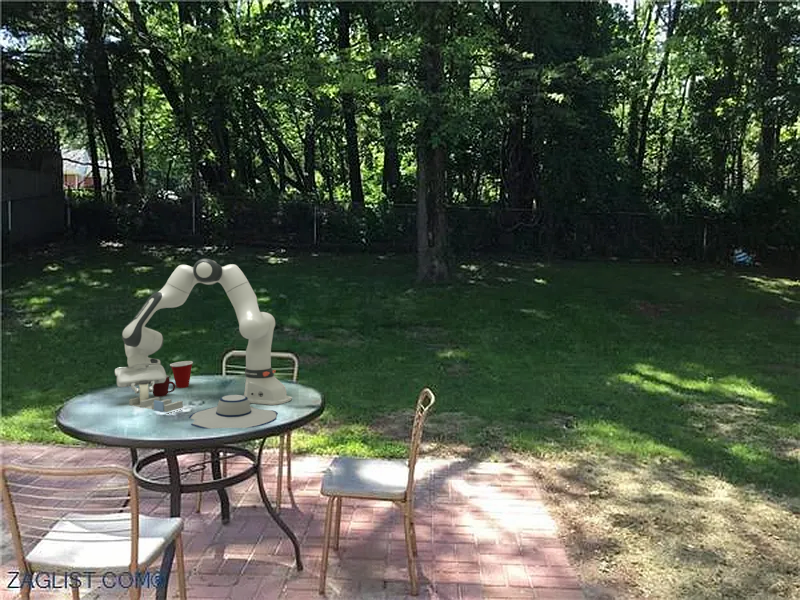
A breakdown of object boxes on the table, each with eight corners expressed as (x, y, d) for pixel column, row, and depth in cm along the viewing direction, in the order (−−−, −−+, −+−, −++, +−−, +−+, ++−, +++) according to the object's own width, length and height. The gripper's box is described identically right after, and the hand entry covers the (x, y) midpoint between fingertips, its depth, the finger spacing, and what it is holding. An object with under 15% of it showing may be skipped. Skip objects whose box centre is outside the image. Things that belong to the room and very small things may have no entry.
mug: (174, 395, 322) (173, 373, 321) (176, 398, 315) (176, 377, 314) (150, 397, 318) (149, 375, 317) (152, 401, 311) (151, 379, 310)
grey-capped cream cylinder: (151, 403, 300) (150, 380, 299) (144, 405, 297) (143, 382, 296) (144, 402, 302) (144, 379, 301) (137, 404, 299) (137, 381, 298)
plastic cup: (170, 385, 343) (169, 361, 342) (193, 383, 346) (192, 360, 345) (170, 390, 333) (169, 365, 332) (193, 388, 336) (193, 364, 335)
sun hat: (177, 415, 291) (177, 393, 290) (260, 404, 310) (259, 384, 309) (202, 436, 260) (202, 412, 259) (292, 423, 279) (292, 400, 278)
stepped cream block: (182, 410, 295) (182, 397, 294) (165, 415, 287) (165, 402, 286) (146, 404, 305) (145, 391, 305) (128, 408, 297) (128, 396, 296)
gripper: (114, 363, 298) (119, 390, 291) (163, 359, 309) (169, 385, 302) (113, 372, 302) (117, 398, 295) (161, 367, 313) (167, 393, 306)
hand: (144, 392), depth 298 cm, fingers open, 4 cm apart
